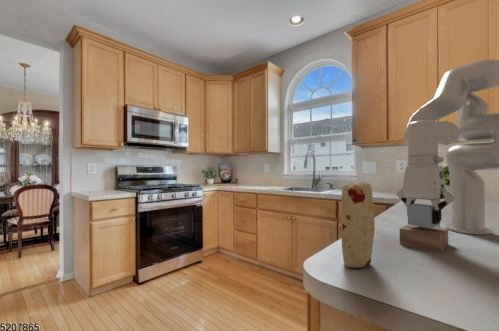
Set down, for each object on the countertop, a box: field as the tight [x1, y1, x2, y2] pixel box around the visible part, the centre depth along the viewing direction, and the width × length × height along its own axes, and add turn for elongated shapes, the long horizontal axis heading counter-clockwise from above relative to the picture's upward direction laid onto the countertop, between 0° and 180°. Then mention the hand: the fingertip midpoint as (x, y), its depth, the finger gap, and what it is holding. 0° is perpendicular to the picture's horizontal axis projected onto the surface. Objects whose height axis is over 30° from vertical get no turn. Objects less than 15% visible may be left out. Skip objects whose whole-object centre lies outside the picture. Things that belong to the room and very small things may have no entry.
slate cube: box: [407, 202, 441, 228], centre depth 75 cm, size 6×6×6 cm
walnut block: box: [399, 224, 449, 253], centre depth 75 cm, size 10×10×5 cm
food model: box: [340, 181, 376, 269], centre depth 59 cm, size 10×7×20 cm
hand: (423, 220), depth 75 cm, fingers closed on slate cube, 5 cm apart
